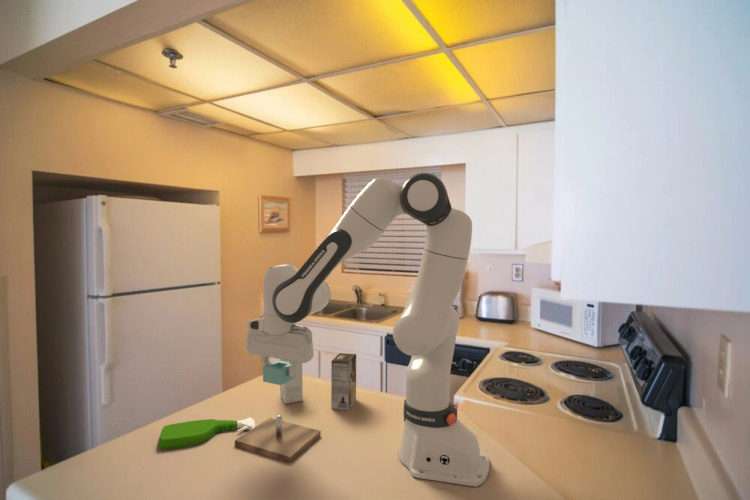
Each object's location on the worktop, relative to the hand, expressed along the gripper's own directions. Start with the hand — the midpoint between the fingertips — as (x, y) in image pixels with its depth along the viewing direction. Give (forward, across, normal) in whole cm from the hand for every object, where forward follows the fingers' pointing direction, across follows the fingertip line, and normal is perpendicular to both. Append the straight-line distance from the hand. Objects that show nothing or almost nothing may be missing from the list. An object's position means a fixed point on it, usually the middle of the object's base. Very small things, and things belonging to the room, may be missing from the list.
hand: (279, 373), depth 101 cm
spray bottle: (+19, +20, +5) cm, 28 cm away
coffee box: (+19, -5, -28) cm, 34 cm away
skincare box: (+19, +14, -24) cm, 34 cm away
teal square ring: (+2, 0, 0) cm, 2 cm away
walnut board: (+19, 0, 0) cm, 19 cm away
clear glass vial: (+18, 0, 0) cm, 18 cm away
